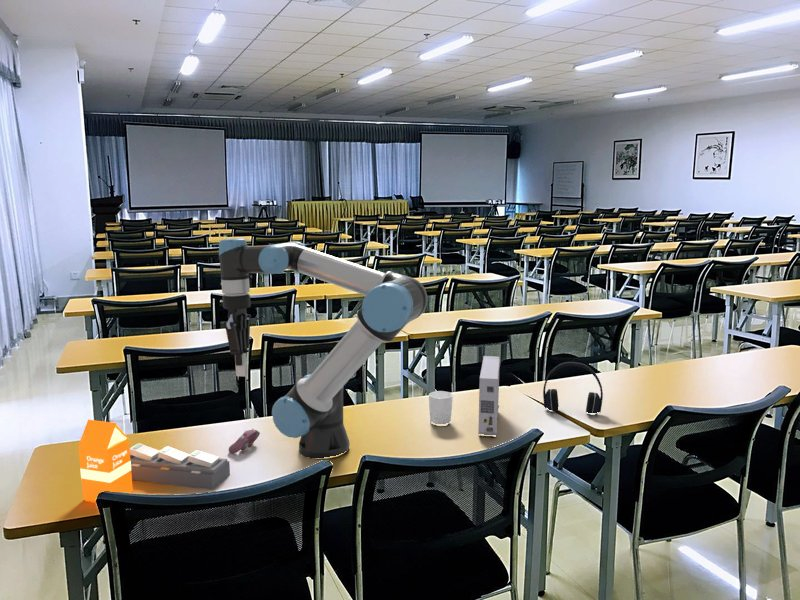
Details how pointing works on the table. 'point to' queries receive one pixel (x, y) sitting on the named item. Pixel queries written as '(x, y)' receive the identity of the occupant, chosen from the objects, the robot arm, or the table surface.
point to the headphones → (593, 398)
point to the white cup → (440, 407)
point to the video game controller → (244, 441)
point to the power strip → (179, 472)
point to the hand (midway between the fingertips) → (241, 375)
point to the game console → (489, 395)
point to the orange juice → (104, 460)
